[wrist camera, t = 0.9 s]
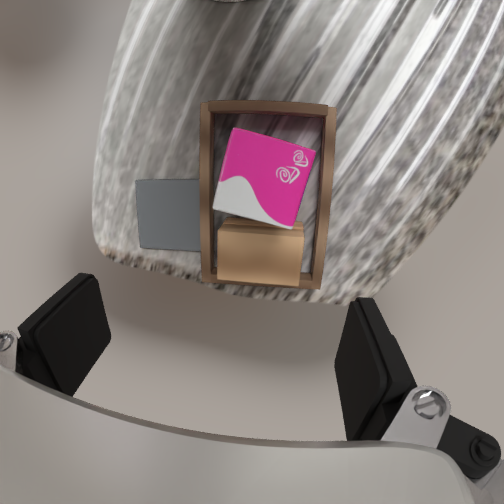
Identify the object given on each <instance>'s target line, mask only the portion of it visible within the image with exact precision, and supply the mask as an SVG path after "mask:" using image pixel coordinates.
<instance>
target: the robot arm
mask: <svg viewBox="0 0 504 504" xmlns="http://www.w3.org/2000/svg"><path fill="white" fill-rule="evenodd" d="M214 1H223V2H237V1H244V0H214ZM18 330H19V333H20V335H21V337H20V338H19V339H18V337H17V335H16V334H15V333H14V332H12V331H3V332H0V504H504V460H501V458H500V457H501V449H500V446H499V444H498V442H497V441H496V439H495V438H494V437H492V436H491V435H489V434H486V433H485V432H483V431H481V430H479V429H477V428H475V427H473V426H471V425H469V424H467V423H465V422H463V421H461V420H459V419H457V418H455V417H453V416H451V415H450V411H451V405H450V401H449V399H448V398H447V396H446V395H445V394H444V393H443V392H442V391H440V390H438V389H437V388H434V387H431V386H420V387H417V384H416V382H415V380H414V377H413V375H412V373H411V371H410V368H409V366H408V364H407V362H406V360H405V357H404V355H403V353H402V351H401V349H400V347H399V345H398V343H397V340H396V338H395V337H394V335H392V334H391V333H390V331H389V329H388V327H387V325H386V323H385V321H384V319H383V317H382V315H381V313H380V311H379V309H378V307H377V305H376V303H375V301H374V299H373V298H361V297H357V298H356V300H355V301H351V302H350V305H349V309H348V313H347V317H346V321H345V325H344V329H343V333H342V337H341V340H340V344H339V348H338V351H337V354H336V358H335V372H336V378H337V383H338V389H339V395H340V400H341V406H342V412H343V419H344V425H345V431H346V438H347V441H285V440H267V439H253V438H242V437H234V436H225V435H218V434H211V433H205V432H199V431H193V430H187V429H182V428H177V427H172V426H167V425H163V424H158V423H154V422H150V421H146V420H143V419H138V418H135V417H131V416H128V415H124V414H120V413H118V412H114V411H111V410H108V409H104V408H101V407H99V406H96V405H93V404H90V403H87V402H84V401H82V400H79V399H76V398H73V395H74V394H75V392H76V391H77V389H78V388H79V386H80V384H81V383H82V382H83V380H84V379H85V377H86V376H87V374H88V373H89V371H90V370H91V368H92V367H93V365H94V364H95V362H96V361H97V360H98V358H99V357H100V355H101V354H102V353H103V351H104V349H105V348H106V347H107V345H108V344H109V343H110V340H111V332H110V329H109V325H108V321H107V317H106V313H105V309H104V305H103V301H102V297H101V293H100V288H99V283H98V280H97V279H96V278H95V277H94V275H92V274H86V273H79V274H78V275H76V276H75V277H74V278H73V279H71V280H70V281H69V282H68V283H67V284H66V285H64V286H63V287H62V288H61V289H60V290H59V291H57V292H56V293H55V294H54V295H53V296H52V297H50V298H49V299H48V300H47V301H46V302H45V303H44V304H42V305H41V306H40V307H39V308H38V309H37V310H36V311H35V312H34V313H33V314H31V315H30V316H29V317H28V318H27V319H26V320H25V321H24V322H23V323H22V324H21V325H20V326H19V327H18Z"/></svg>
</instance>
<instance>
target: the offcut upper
mask: <svg viewBox="0 0 504 504" xmlns="http://www.w3.org/2000/svg"><path fill="white" fill-rule="evenodd" d="M304 239H305V237H304V233H303V230H300V229H291V230H290V229H287V228H276V227H263V226H250V225H236V224H222V225H221V227H220V228H219V230H218V255H217V279H220V280H230V281H241V282H253V283H264V284H277V285H289V286H299V279H300V271H301V264H302V256H303V248H304Z"/></svg>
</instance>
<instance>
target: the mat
mask: <svg viewBox="0 0 504 504" xmlns="http://www.w3.org/2000/svg"><path fill="white" fill-rule="evenodd" d="M135 182H136V201H137V216H138V228H139V239H140V248H156V249H172V250H188V251H201V243H200V194H199V179H158V180H136V181H135Z"/></svg>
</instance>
